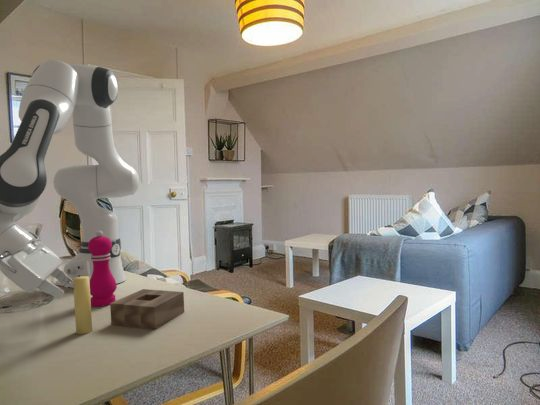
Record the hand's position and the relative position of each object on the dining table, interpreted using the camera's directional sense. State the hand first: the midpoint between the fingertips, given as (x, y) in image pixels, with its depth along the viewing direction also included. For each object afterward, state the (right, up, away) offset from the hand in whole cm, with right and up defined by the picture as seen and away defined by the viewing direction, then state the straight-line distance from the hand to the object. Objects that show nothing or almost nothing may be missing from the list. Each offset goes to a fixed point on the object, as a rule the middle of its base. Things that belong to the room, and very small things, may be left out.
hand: (66, 289), depth 85 cm
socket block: (+15, -9, +9) cm, 20 cm away
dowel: (+3, -10, +1) cm, 10 cm away
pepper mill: (-1, -9, +22) cm, 24 cm away
